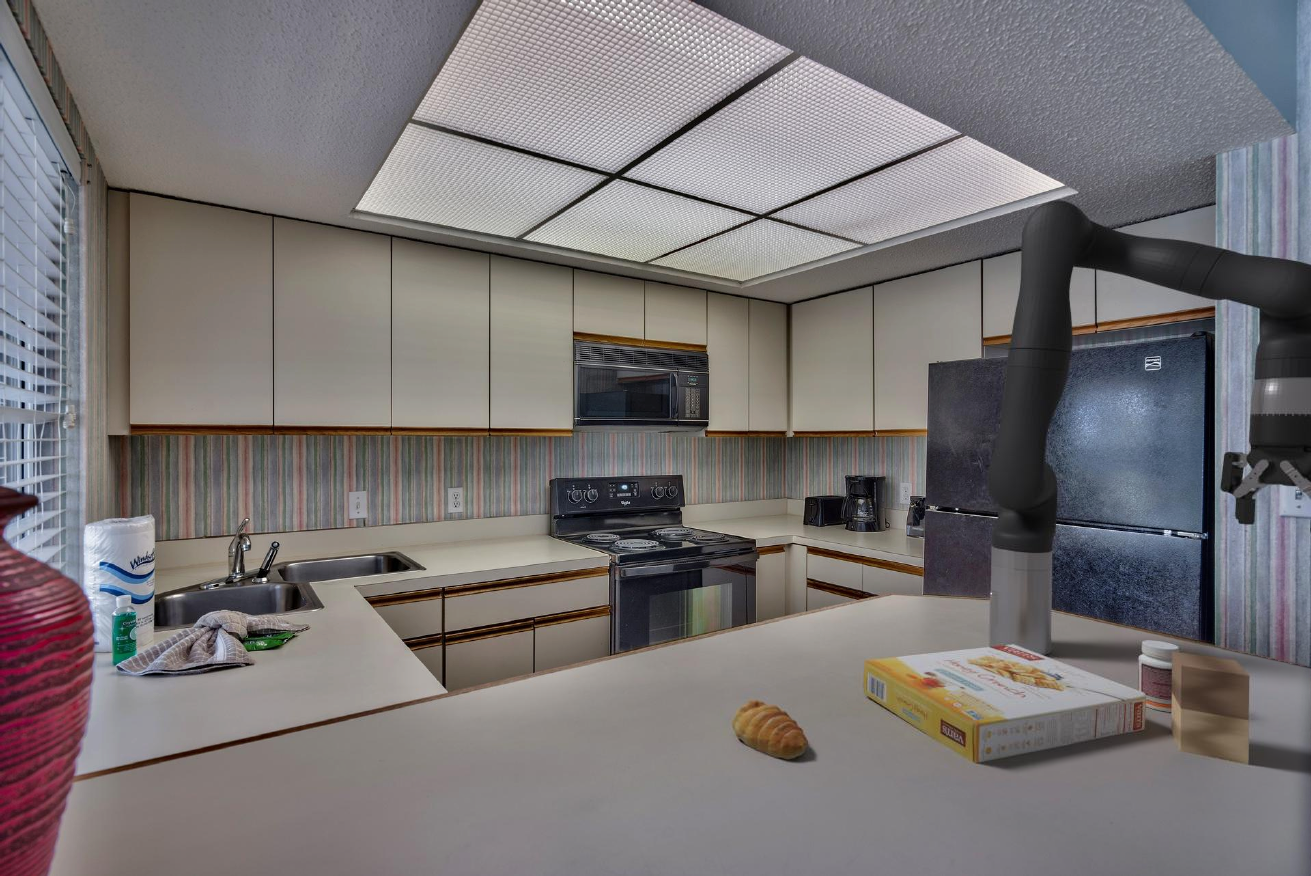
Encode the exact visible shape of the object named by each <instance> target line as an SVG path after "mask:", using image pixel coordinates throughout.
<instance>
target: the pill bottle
mask: <svg viewBox="0 0 1311 876" xmlns="http://www.w3.org/2000/svg"><path fill="white" fill-rule="evenodd" d="M1172 651H1173V652H1180V648H1179V646H1178V645H1176V644H1173V643H1170V642H1165V641H1160V640H1150V639H1149V640H1148V639H1147V640H1143V641H1142V642H1141V652H1142V654H1140V655H1139V656H1138V658H1137V659H1138V660H1137V662H1138V664H1137V665H1138V667H1137V669H1138V670H1137V671H1138V673H1137V674H1138V675H1137V676H1138V677H1137V679H1138V680H1137V682H1138V683H1137V688H1138V691H1141V692H1143V693H1145V694H1146V708H1149V709H1152V710H1156V711H1161V712H1167V713H1172Z"/></svg>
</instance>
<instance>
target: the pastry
mask: <svg viewBox="0 0 1311 876" xmlns="http://www.w3.org/2000/svg"><path fill="white" fill-rule="evenodd" d="M731 725H732V729H733V731H734V733H735V735H736V737H737V739H738V740H741V741H742V742H743V743H744V745H746V746H748V747H750V748H752V749H754V750H757V751H758V752H761V753H764V754H765V755H767V756H771V757H774V758H781V759H784V760H790V759H795V758H797V757H799V756H802V755H804V754H805V752H806V749H807V747H808V745H809V744H808V743H809V740H808V739H807V736H806V735H805V733H804V730H803V729H802V728H801V727H800V726H799V725H798V723H797V721H796V720H795V719H793V718H792V717H791V716H790V715H789V714H788V712H786V710H781V708H779V707H778V706H777V705H773V704H771V705H767V704H766V703H765V702H764V701H761V700H758V699H757V700H756V699H754V700H750V701H748V702H746V703H744V705H742V706H741V707H740V708H738V709H737V711H736V712H735V715H734V717H733V719H732V723H731Z"/></svg>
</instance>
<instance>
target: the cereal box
mask: <svg viewBox="0 0 1311 876" xmlns="http://www.w3.org/2000/svg"><path fill="white" fill-rule="evenodd" d="M863 665H864V666H863V667H864V668H863V669H864V670H863V683H862V684H863V685H862V688H863V693H864V695H865V696H866V697H868V698H870V699H871V700H873V701H874V702H876V703H878V704H879V705H881V706H882V707H884V708H886V709H887V710H889V711H890V712H892V713H894V714H895V715H896V716H898V717H899V718H900V719H902V720H904V721H906V722H907V723H909V724H910V725H912V726H913V727H915V728H917V729H918V730H920V731H921V732H923V733H925V735H927V736H929V737H930V738H932V739H933V740H935V741H937V742H938V743H939V744H941V745H943V746H944V747H946V748H948V749H950V750H952V751H953V752H954V753H956V754H958V755H960V756H962V757H963V758H965V759H967V760H968V761H970V762H972V763H974V764H981V763H985V762H989V761H995V760H998V759H1004V758H1008V757H1014V756H1019V755H1024V754H1027V753H1034V752H1038V751H1043V750H1047V749H1053V748H1058V747H1063V746H1069V745H1073V744H1078V743H1082V742H1083V743H1084V742H1087V741H1093V740H1096V739H1102V738H1107V737H1112V736H1117V735H1122V734H1123V735H1124V734H1128V733H1132V732H1138V731H1143V730H1145V729H1146V714H1147V713H1146V711H1147V710H1146V709H1147V707H1146V694H1145V693H1143V692H1141V691H1138V690H1137V689H1135V688H1132V687H1130V686H1128V685H1124V684H1121V683H1120V682H1116V681H1112V680H1111V679H1108V678H1106V677H1103V676H1099V675H1097V674H1094V673H1093V672H1088V671H1087V670H1083V669H1081V668H1078V667H1075V666H1072V665H1070V664H1067V663H1065V662H1061V661H1058V660H1056V659H1053V658H1052V657H1051V658H1050V657H1048V656H1046V655H1040V654H1038V653H1035V652H1032V651H1030V650H1027V649H1024V648H1022V647H1019V646H1017V645H1014V644H1012V645H1003V646H993V647H989V646H985V647H976V648H966V649H959V650H947V651H939V652H929V653H921V654H913V655H911V654H910V655H903V656H894V657H893V656H892V657H885V658H876V659H874V658H873V659H864V664H863Z"/></svg>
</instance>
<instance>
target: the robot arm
mask: <svg viewBox="0 0 1311 876" xmlns="http://www.w3.org/2000/svg"><path fill="white" fill-rule="evenodd" d="M1020 252H1021V253H1020V254H1021V257H1020V259H1021V260H1020V263H1021V264H1020V282H1019V283H1020V285H1019V292H1018V297H1017V302H1016V305H1015V312H1014V317H1013V318H1014V319H1013V324H1012V330H1011V336H1010V342H1009V347H1008V352H1007V360H1006V366H1005V367H1006V368H1005V377H1004V379H1005V380H1004V386H1003V394H1002V401H1001V410H1000V411H1001V415H1000V424H999V430H998V434H997V439H996V441H995V446H994V450H993V454H992V457H991V460H990V464H989V468H988V472H987V477H986V479H987V480H986V485H987V490H988V493H989V496H990V497H991V499H992V501H994V502H995V504H997V506H998V512H997V513H998V514H997V519H996V523H995V525H994V527H993V529H992V530H991V531H992V532H991V556H990V557H991V559H990V560H991V565H990V566H991V568H990V570H991V571H990V572H991V573H990V592H989V627H988V629H989V636H988V638H989V639H988V641H989V644H988V647H993V646H1003V645H1012V644H1014V645H1017V646H1019V647H1022V648H1024V649H1027V650H1030V651H1032V652H1035V653H1038V654H1040V655H1043V656H1046V655H1049V654H1050V653H1051V651H1052V611H1053V610H1052V607H1053V606H1052V603H1053V602H1052V600H1053V546H1054V544H1053V542H1054V538H1055V534H1056V531H1057V518H1058V516H1057V515H1058V495H1059V493H1058V492H1059V491H1058V488H1059V487H1058V479H1057V474H1056V473H1055V470H1054V468H1052V466H1051V465H1050V463H1048V462H1047V461H1045V460H1046V447H1047V445H1046V444H1047V439H1048V432H1049V427H1050V425H1051V422H1052V420H1053V417H1054V414H1055V413H1056V411H1057V408H1058V406H1059V404H1060V401H1061V399H1062V397H1063V394H1064V391H1065V388H1066V385H1067V381H1068V376H1069V372H1070V364H1071V358H1072V357H1071V356H1072V351H1073V323H1072V322H1073V321H1072V309H1071V299H1070V298H1071V297H1070V294H1071V293H1070V289H1071V281H1072V276H1073V275H1072V274H1073V270H1074V268H1080V269H1088V270H1089V269H1090V270H1097V271H1101V272H1107V273H1113V274H1117V275H1121V276H1126V277H1130V278H1133V279H1135V280H1139V281H1144V282H1146V283H1150V284H1152V285H1157V286H1159V287H1163V288H1167V289H1170V290H1175V291H1176V292H1177V291H1178V292H1180V293H1181V292H1182V293H1186V294H1188V295H1192V296H1196V297H1200V298H1204V299H1207V300H1213V301H1223V300H1225V301H1226V300H1227V301H1231V302H1235V303H1237V304H1240V305H1241V304H1242V305H1245V306H1249V307H1253V308H1255V309H1256V308H1257V309H1259V310H1258V311H1259V313H1258V314H1259V315H1258V317H1259V319H1258V320H1259V321H1258V323H1259V324H1258V326H1259V331H1258V332H1259V342H1258V345H1257V348H1256V354H1255V362H1254V375H1253V377H1254V380H1253V387H1252V391H1251V395H1250V409H1249V410H1250V414H1249V432H1248V443H1249V445H1250V450H1249V452H1248V453H1245V452H1242V451H1241V452H1240V451H1227V452H1224V454H1223V461H1222V462H1223V463H1222V471H1221V477H1220V478H1221V479H1220V490H1221V491H1222V492H1223V493H1228V494H1231V495H1232V496H1233V497H1235V504H1234V505H1235V508H1234V517H1235V519H1236V520H1237V522H1238V524H1239V525H1244V526H1245V525H1247V526H1248V525H1254V524H1255V521H1256V520H1255V518H1256V502H1257V501H1256V498H1254V497H1255V496H1256V495H1257V494H1258V493H1259V492H1260V491H1261V490H1262V489H1264V488H1266V487H1268V486H1269V485H1271V486H1274V485H1276V486H1278V485H1279V486H1285V487H1297V488H1298V489H1299V490H1300V491H1301V492H1302V493H1304V494H1306V496H1308V498H1309V500H1311V263H1310V264H1309V263H1307V262H1303V261H1298V260H1293V259H1286V258H1280V257H1273V256H1272V257H1271V256H1264V255H1263V256H1261V255H1253V254H1244V253H1240V252H1237V251H1234V250H1230V249H1226V248H1222V247H1217V246H1213V245H1208V244H1204V243H1200V242H1195V241H1189V240H1182V239H1181V240H1180V239H1174V238H1163V237H1162V238H1161V237H1160V238H1159V237H1149V236H1148V237H1147V236H1141V235H1135V234H1130V233H1126V232H1122V231H1118V230H1116V229H1112V228H1110V227H1107V226H1104V225H1102V224H1099V223H1097V222H1095V221H1093V220H1090V218H1089V217H1088V216H1087V215H1086V214H1085V212H1084V211H1083V210H1081V208H1080V207H1078V206H1077V205H1076V204H1073V203H1071V202H1069V201H1066V200H1060V199H1058V200H1057V199H1056V200H1052V201H1047V202H1045V203H1043V204H1041V205H1040V206H1039V207H1037V208H1035V210H1034V211H1032V212H1031V214H1030V215H1029V216H1028V218H1027V219H1026V222H1025V223H1024V226H1023V229H1022V233H1021V251H1020ZM1247 465H1249V466H1250V468H1251V470H1250V471H1249V473H1248V474H1247V475H1246V476H1245V477H1244V468H1245V467H1247ZM1243 477H1244V478H1243ZM1309 530H1310V531H1309V532H1310V534H1311V523H1310V528H1309Z"/></svg>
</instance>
